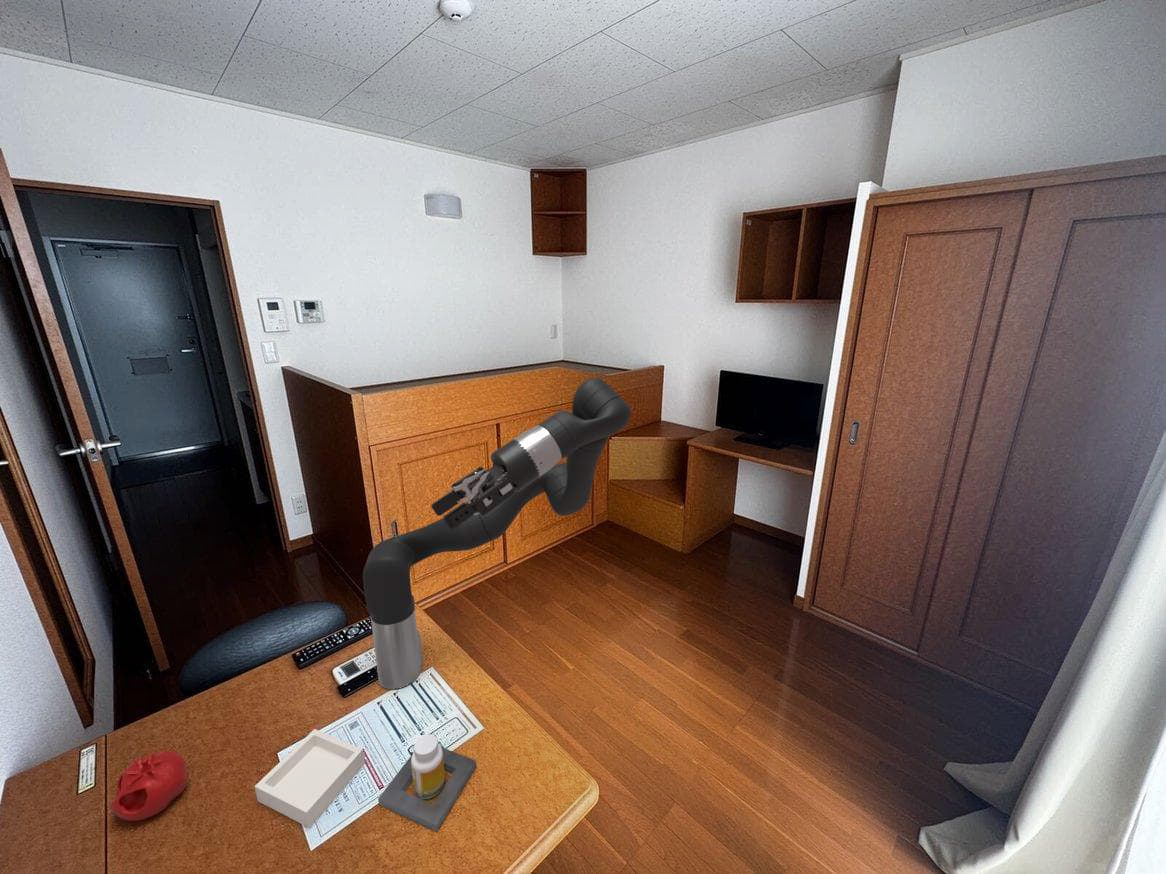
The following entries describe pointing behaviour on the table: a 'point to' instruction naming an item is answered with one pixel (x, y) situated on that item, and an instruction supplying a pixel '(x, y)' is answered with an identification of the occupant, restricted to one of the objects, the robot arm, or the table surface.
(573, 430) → the robot arm
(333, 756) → the bin
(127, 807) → the pomegranate
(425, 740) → the supplement bottle
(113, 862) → the table surface
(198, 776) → the table surface
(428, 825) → the socket plate
